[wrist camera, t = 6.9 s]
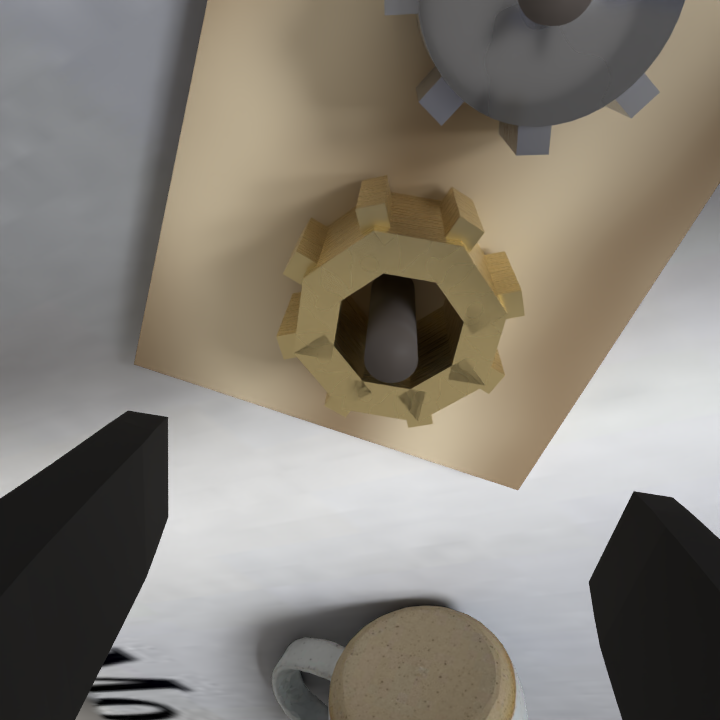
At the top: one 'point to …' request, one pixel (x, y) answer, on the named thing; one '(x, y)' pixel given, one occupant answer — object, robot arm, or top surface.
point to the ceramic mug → (404, 672)
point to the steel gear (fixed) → (538, 62)
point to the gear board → (422, 179)
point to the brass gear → (407, 259)
